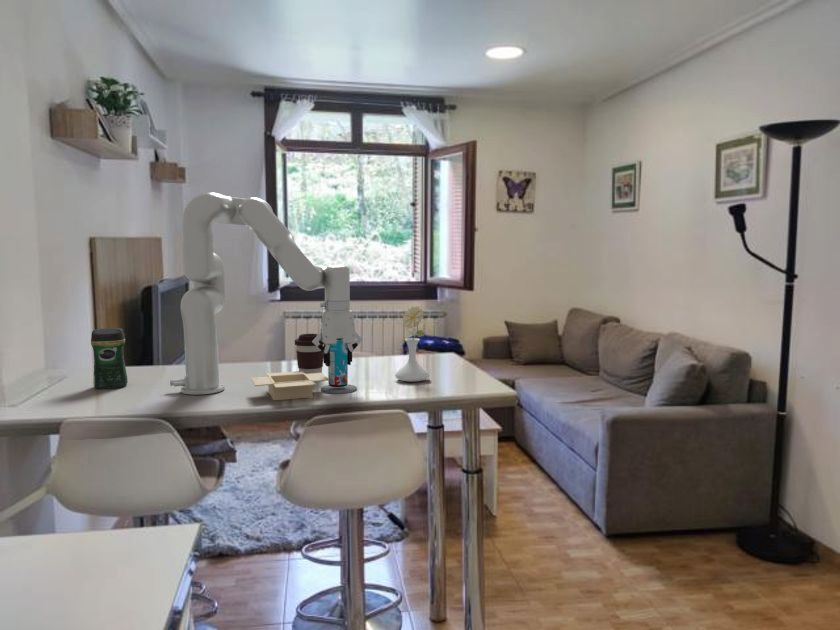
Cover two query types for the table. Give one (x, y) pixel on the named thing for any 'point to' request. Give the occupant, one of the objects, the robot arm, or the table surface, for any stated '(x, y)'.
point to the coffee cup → (309, 354)
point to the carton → (289, 384)
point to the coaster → (338, 389)
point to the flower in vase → (412, 348)
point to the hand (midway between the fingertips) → (337, 364)
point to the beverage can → (338, 364)
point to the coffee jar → (109, 358)
